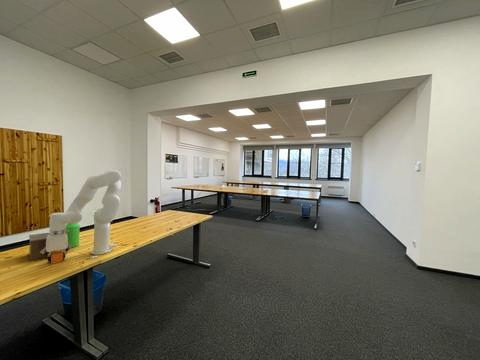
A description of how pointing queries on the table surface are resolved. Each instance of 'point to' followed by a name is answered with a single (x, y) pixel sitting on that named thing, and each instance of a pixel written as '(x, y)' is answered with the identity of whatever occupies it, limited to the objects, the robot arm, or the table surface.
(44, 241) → the shelf
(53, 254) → the cube
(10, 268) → the table surface
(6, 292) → the table surface
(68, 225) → the bottle
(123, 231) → the table surface
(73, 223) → the robot arm
